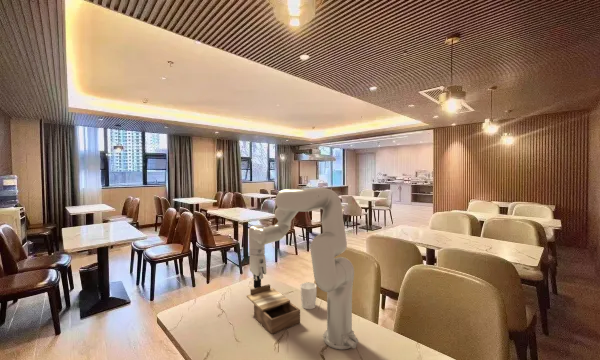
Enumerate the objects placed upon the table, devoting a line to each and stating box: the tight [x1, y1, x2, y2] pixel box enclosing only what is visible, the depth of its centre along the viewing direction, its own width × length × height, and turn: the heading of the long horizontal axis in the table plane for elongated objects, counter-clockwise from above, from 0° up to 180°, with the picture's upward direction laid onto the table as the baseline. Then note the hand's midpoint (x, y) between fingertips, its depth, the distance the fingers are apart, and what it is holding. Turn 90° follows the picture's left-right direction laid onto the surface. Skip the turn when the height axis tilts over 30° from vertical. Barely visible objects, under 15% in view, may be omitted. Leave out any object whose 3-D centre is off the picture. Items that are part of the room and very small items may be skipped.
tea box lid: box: [246, 284, 291, 311], centre depth 125 cm, size 16×14×3 cm
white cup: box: [299, 281, 318, 310], centre depth 131 cm, size 8×8×10 cm
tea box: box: [253, 301, 301, 336], centre depth 118 cm, size 16×14×6 cm
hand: (257, 287), depth 133 cm, fingers closed
